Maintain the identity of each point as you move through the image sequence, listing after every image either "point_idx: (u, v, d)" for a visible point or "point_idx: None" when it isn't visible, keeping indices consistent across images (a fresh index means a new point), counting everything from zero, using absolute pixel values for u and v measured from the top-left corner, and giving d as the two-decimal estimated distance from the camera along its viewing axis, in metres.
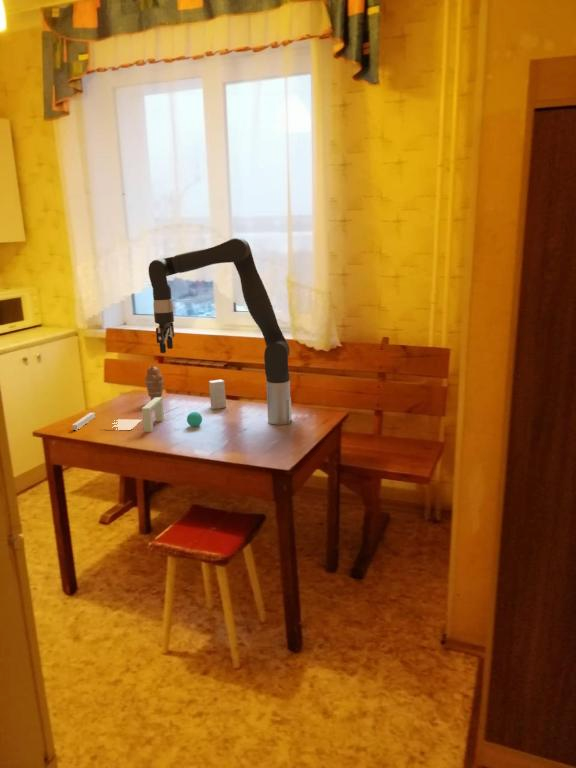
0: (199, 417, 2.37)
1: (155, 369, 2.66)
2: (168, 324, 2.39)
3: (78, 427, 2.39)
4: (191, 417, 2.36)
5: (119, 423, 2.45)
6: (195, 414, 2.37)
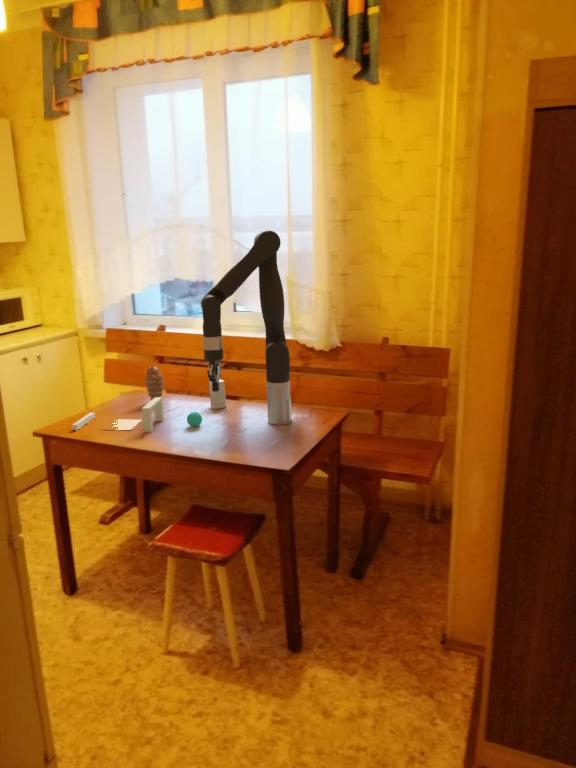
0: (199, 417, 2.37)
1: (155, 369, 2.66)
2: (217, 361, 2.32)
3: (78, 427, 2.39)
4: (191, 417, 2.36)
5: (119, 423, 2.45)
6: (195, 414, 2.37)
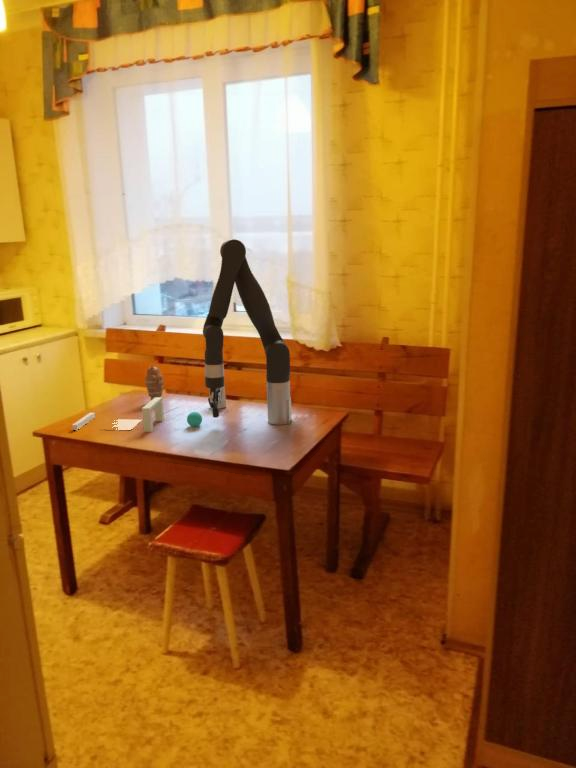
0: (199, 417, 2.37)
1: (155, 369, 2.66)
2: (218, 388, 2.35)
3: (78, 427, 2.39)
4: (191, 417, 2.36)
5: (119, 423, 2.45)
6: (195, 414, 2.37)
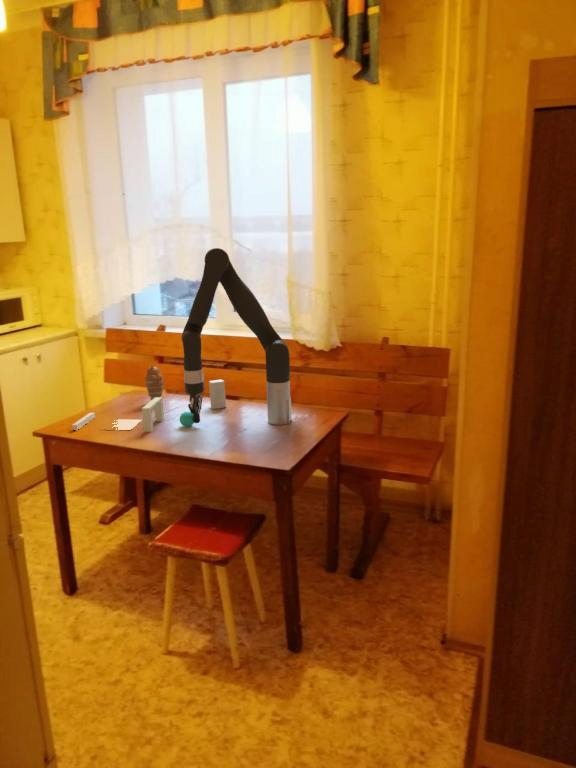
0: (188, 413, 2.37)
1: (155, 369, 2.66)
2: (198, 393, 2.36)
3: (78, 427, 2.39)
4: (181, 418, 2.37)
5: (119, 423, 2.45)
6: (183, 414, 2.37)
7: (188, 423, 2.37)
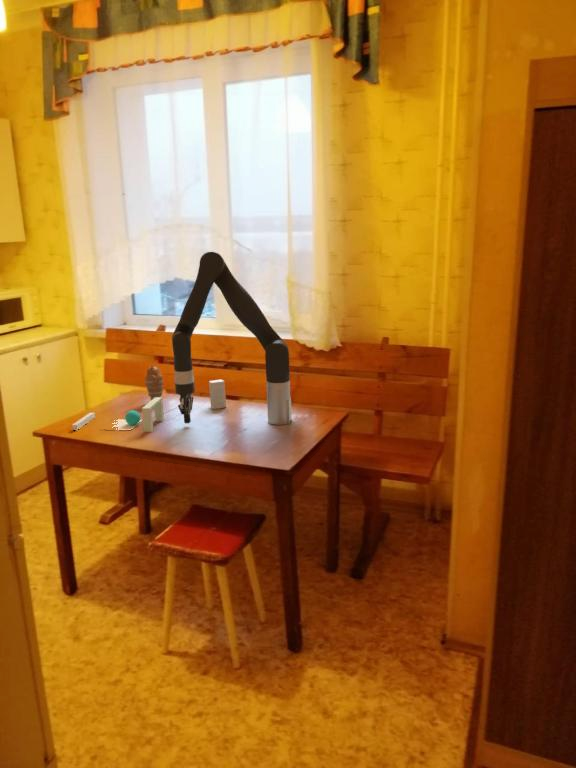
0: None
1: (155, 369, 2.66)
2: (189, 394, 2.38)
3: (78, 427, 2.39)
4: (127, 422, 2.41)
5: (119, 423, 2.45)
6: (125, 419, 2.42)
7: (132, 417, 2.40)
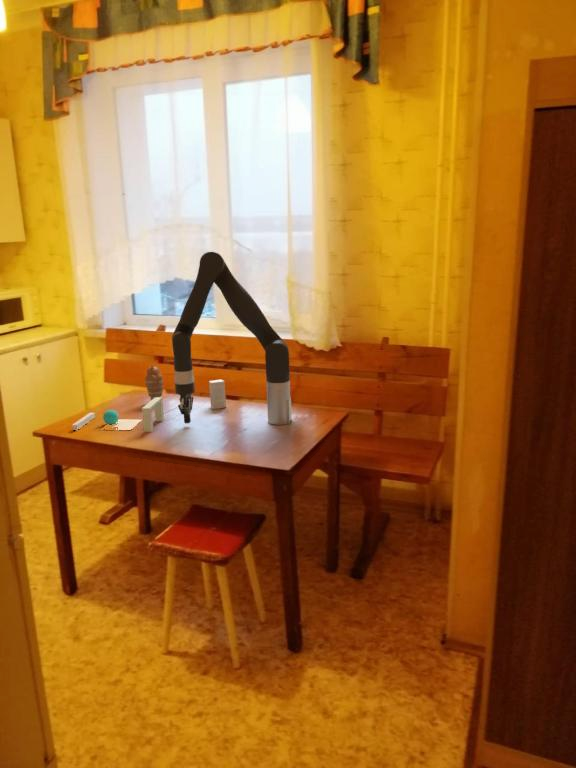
0: (115, 421, 2.43)
1: (155, 369, 2.66)
2: (189, 394, 2.38)
3: (78, 427, 2.39)
4: (110, 416, 2.41)
5: (119, 423, 2.45)
6: (115, 417, 2.42)
7: (105, 421, 2.42)
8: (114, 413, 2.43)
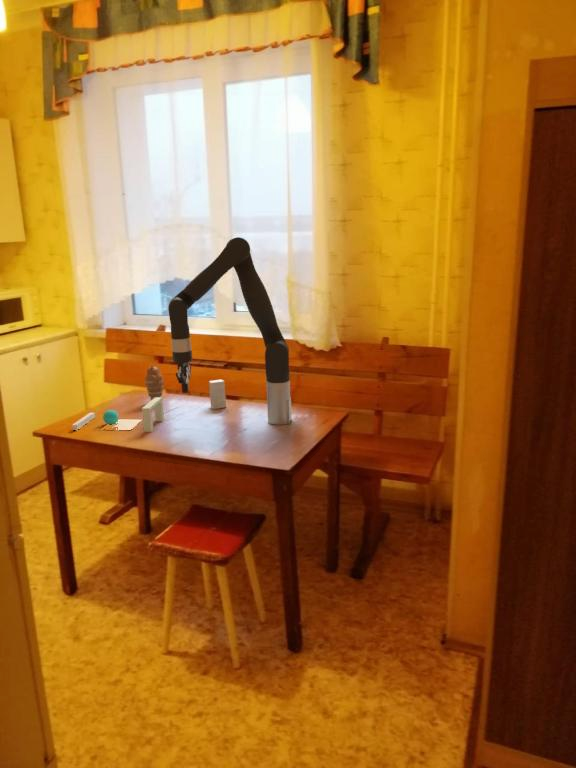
0: (115, 421, 2.43)
1: (155, 369, 2.66)
2: (186, 363, 2.34)
3: (78, 427, 2.39)
4: (110, 416, 2.41)
5: (119, 423, 2.45)
6: (115, 417, 2.42)
7: (105, 421, 2.42)
8: (114, 413, 2.43)
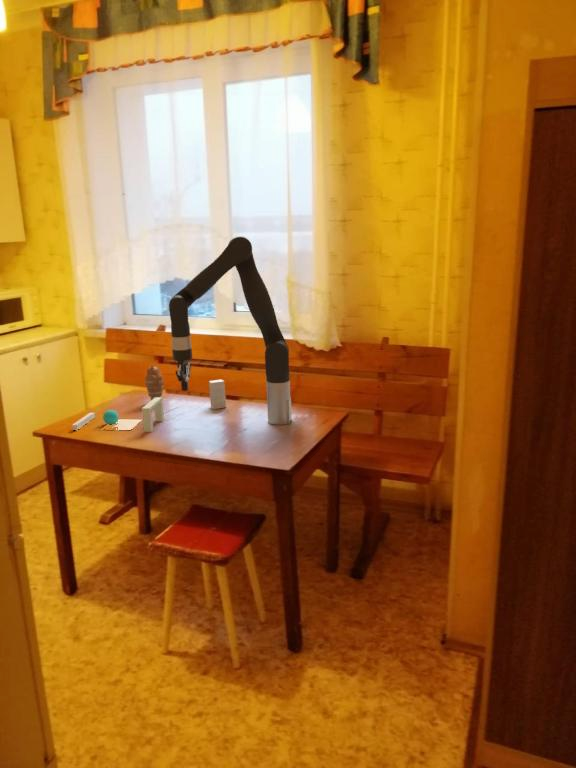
0: (115, 421, 2.43)
1: (155, 369, 2.66)
2: (186, 361, 2.34)
3: (78, 427, 2.39)
4: (110, 416, 2.41)
5: (119, 423, 2.45)
6: (115, 417, 2.42)
7: (105, 421, 2.42)
8: (114, 413, 2.43)
